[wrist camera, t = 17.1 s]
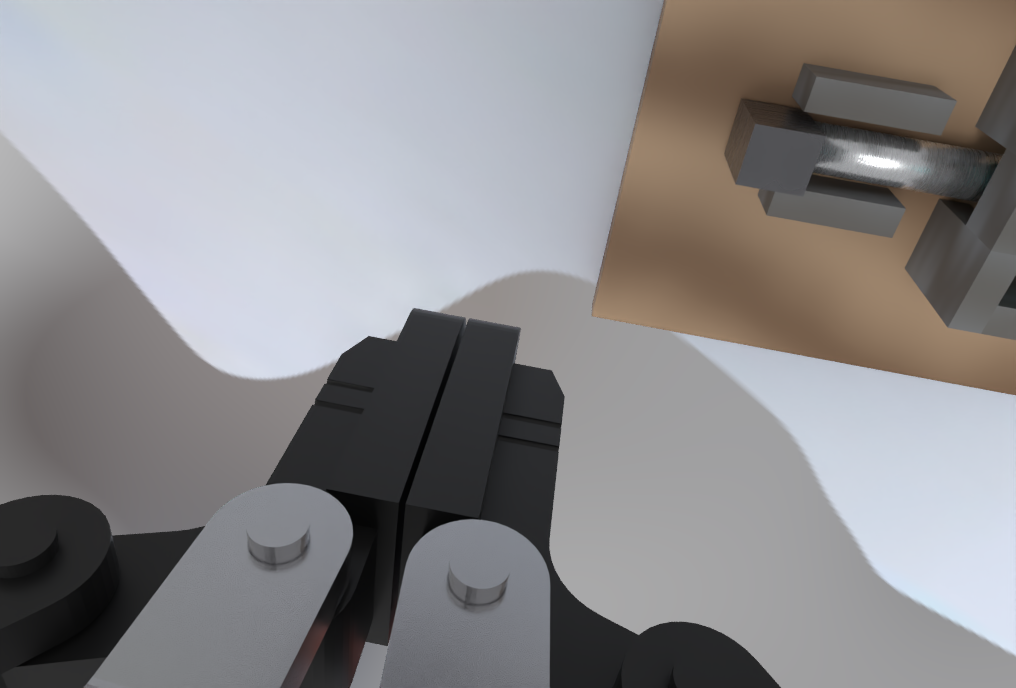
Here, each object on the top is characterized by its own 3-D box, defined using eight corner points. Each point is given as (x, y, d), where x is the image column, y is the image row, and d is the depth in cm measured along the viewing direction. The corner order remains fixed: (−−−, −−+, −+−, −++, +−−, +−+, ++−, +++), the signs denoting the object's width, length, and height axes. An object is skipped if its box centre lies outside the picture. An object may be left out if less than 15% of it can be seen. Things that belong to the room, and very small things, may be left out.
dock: (709, -194, 20) (733, -212, 16) (1454, -72, 19) (1684, -58, 15) (592, 303, 29) (587, 375, 25) (1101, 398, 28) (1185, 488, 24)
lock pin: (740, 97, 23) (755, 123, 20) (1024, 147, 22) (1071, 179, 20) (723, 153, 24) (735, 184, 21) (994, 201, 23) (1036, 238, 21)
